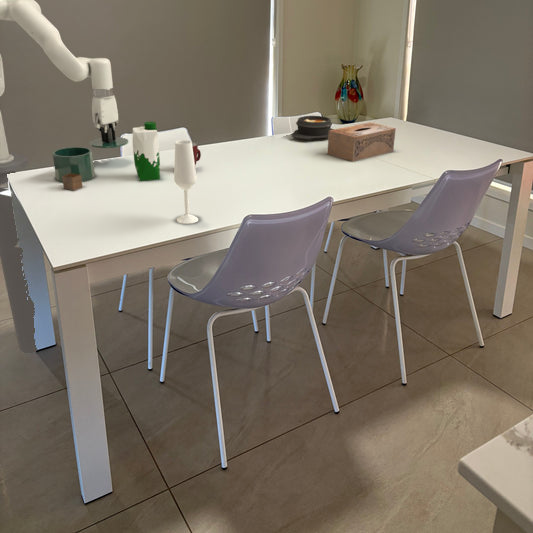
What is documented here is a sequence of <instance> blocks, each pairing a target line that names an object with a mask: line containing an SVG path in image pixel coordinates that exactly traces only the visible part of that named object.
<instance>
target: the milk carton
mask: <svg viewBox="0 0 533 533" xmlns="http://www.w3.org/2000/svg"><path fill="white" fill-rule="evenodd" d="M143 123H144V124H143V125H144V126H138V127H132V149H133V162H134V167H135V170H136V174H137V177H138V179H139V181H140V182H145V181H156V180H160V178H161V177H160V173H161V161H160V160H161V158H160V147H159V146H160V145H159V136H158V135H159V134H158V129H157V122H155V121H146V122H145V121H144V122H143Z"/></svg>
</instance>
